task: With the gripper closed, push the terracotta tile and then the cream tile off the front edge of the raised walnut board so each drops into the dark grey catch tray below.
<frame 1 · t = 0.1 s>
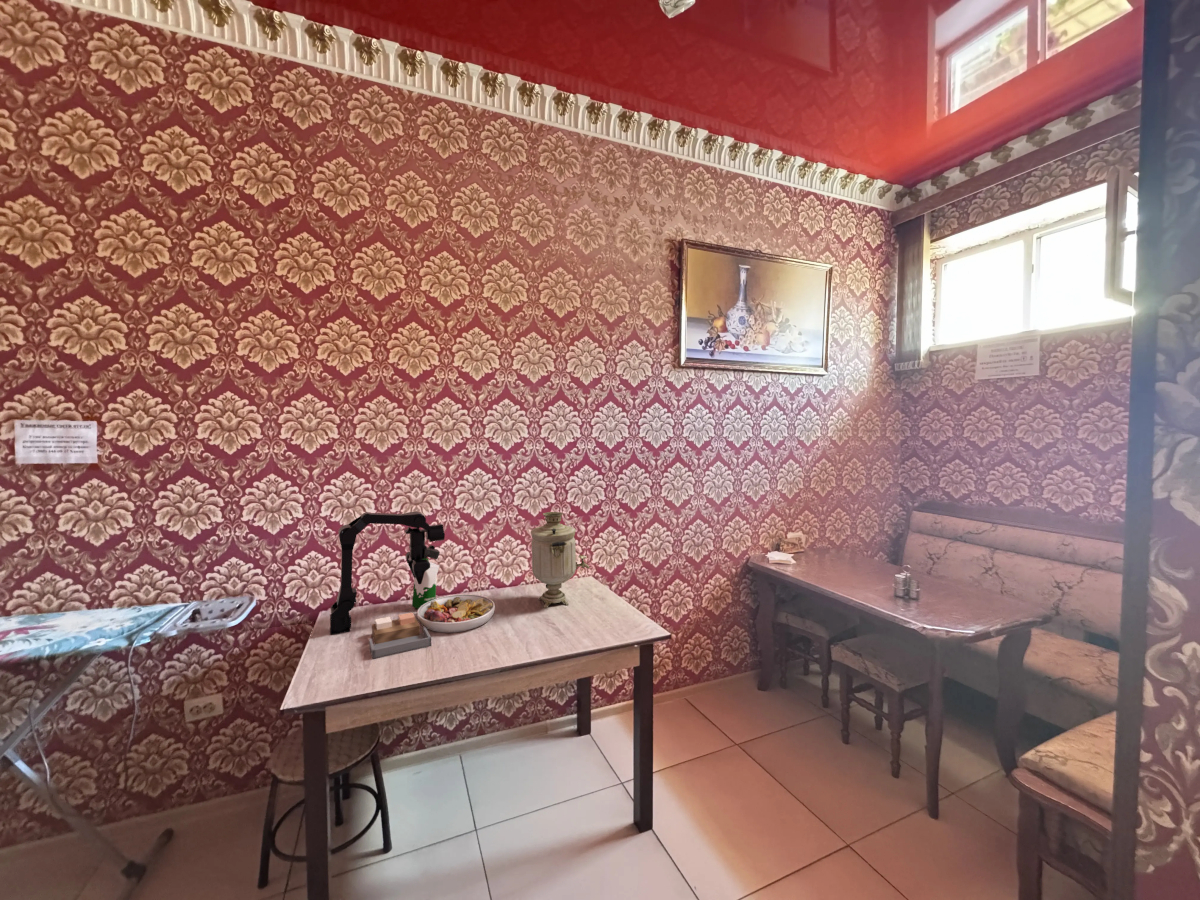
hand: (417, 580, 191), 15 cm above the table, fingers open, 9 cm apart
bowl: (456, 620, 190), on the table
terracotta tile: (406, 621, 177), point 4 cm above the table, touching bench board
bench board: (395, 635, 174), on the table
samovar: (559, 602, 209), on the table
milk carton: (423, 606, 201), on the table, touching gripper
catch tray: (400, 646, 165), on the table
cream tile: (383, 625, 173), point 4 cm above the table, touching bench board
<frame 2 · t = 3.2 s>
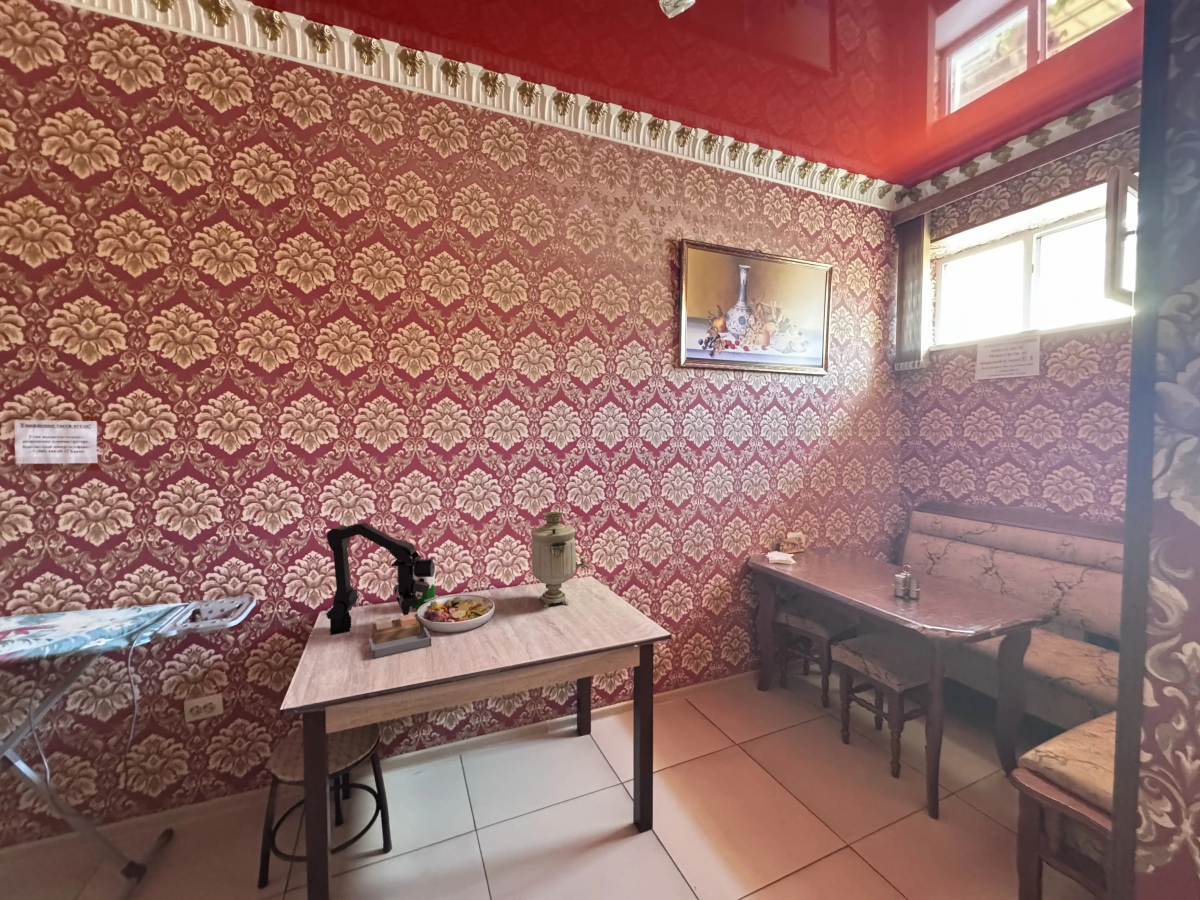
hand: (406, 616, 179), 5 cm above the table, fingers closed
terracotta tile: (407, 622, 176), point 4 cm above the table, touching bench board, gripper
milk carton: (423, 607, 201), on the table
everything else where it was.
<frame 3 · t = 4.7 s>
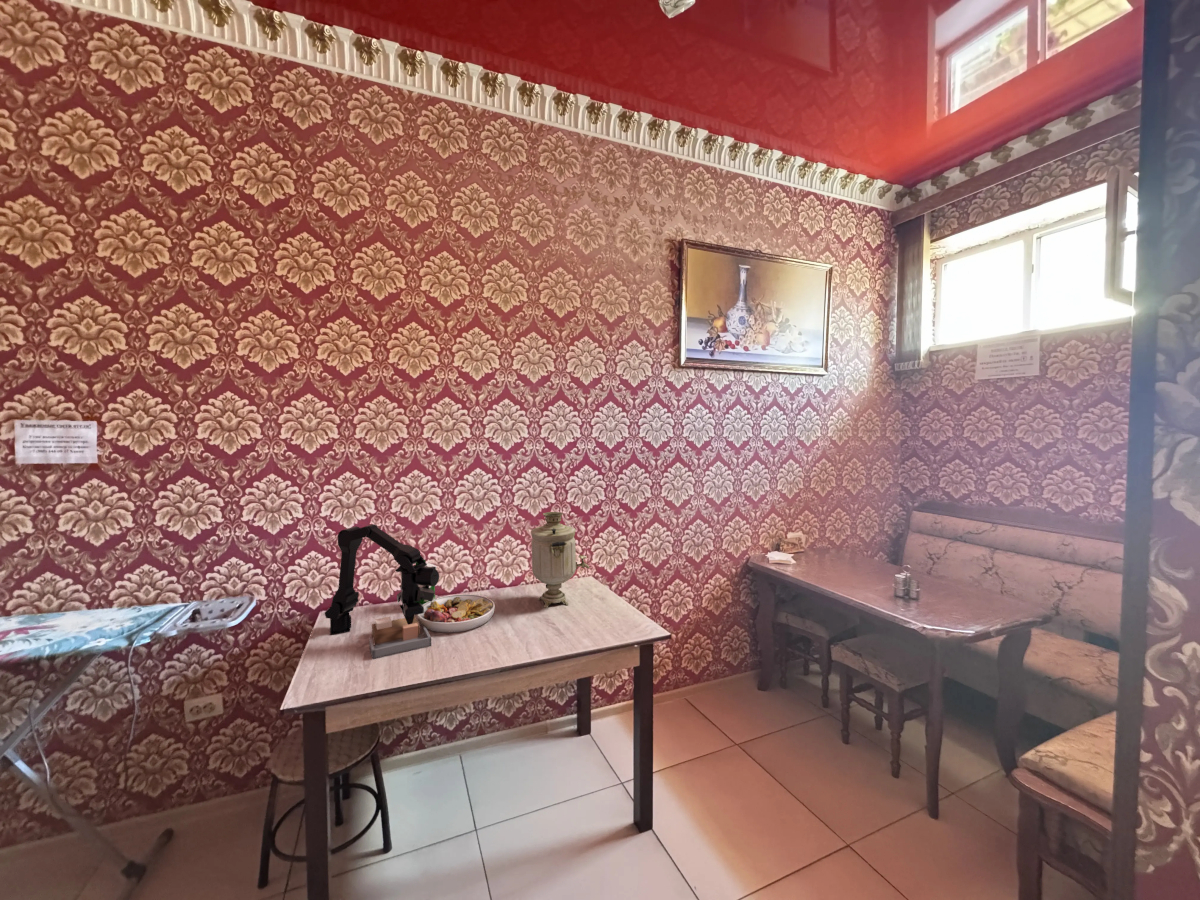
hand: (410, 625, 171), 5 cm above the table, fingers closed
terracotta tile: (409, 630, 171), point 3 cm above the table, tilted 100°, touching catch tray
everything else where it was.
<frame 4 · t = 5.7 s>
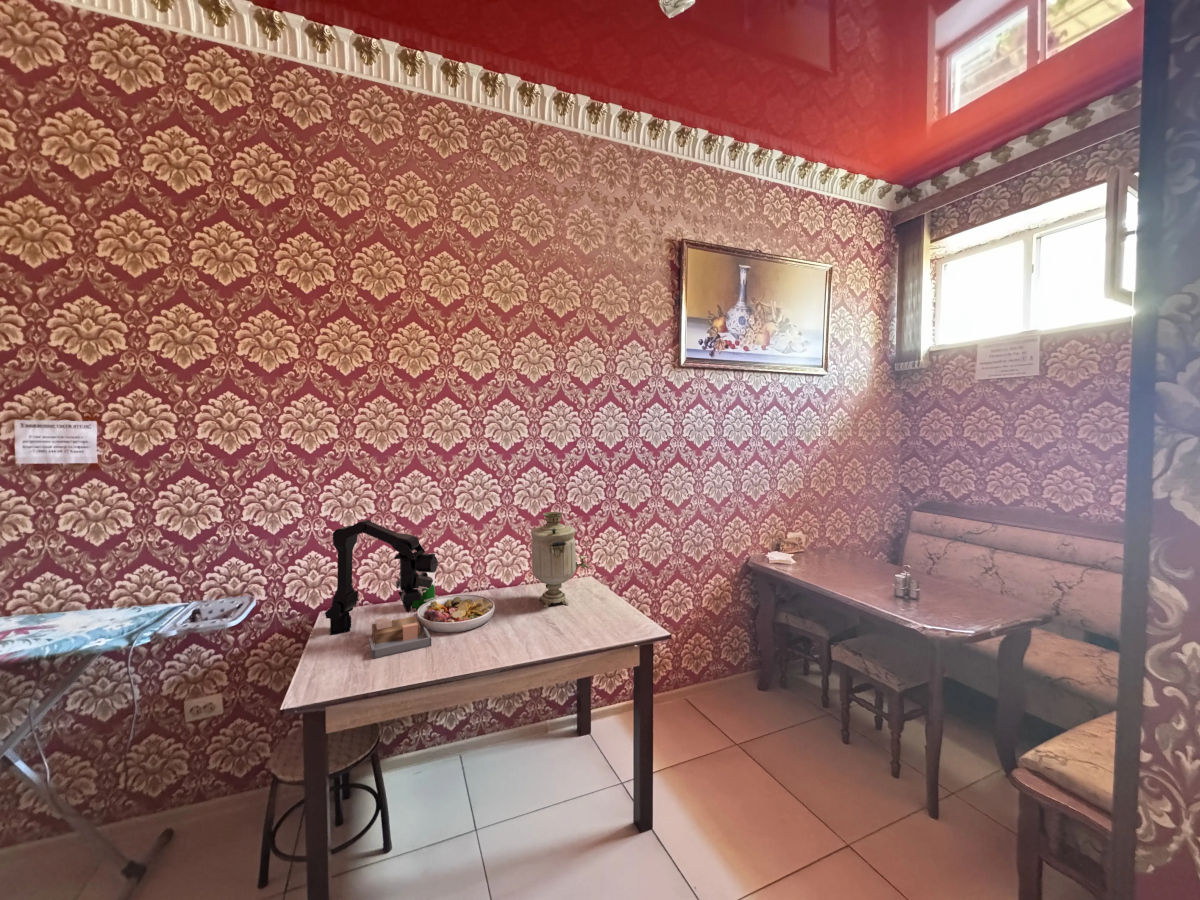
hand: (408, 612, 173), 9 cm above the table, fingers closed
terracotta tile: (409, 630, 171), point 3 cm above the table, tilted 90°, touching catch tray
everything else where it was.
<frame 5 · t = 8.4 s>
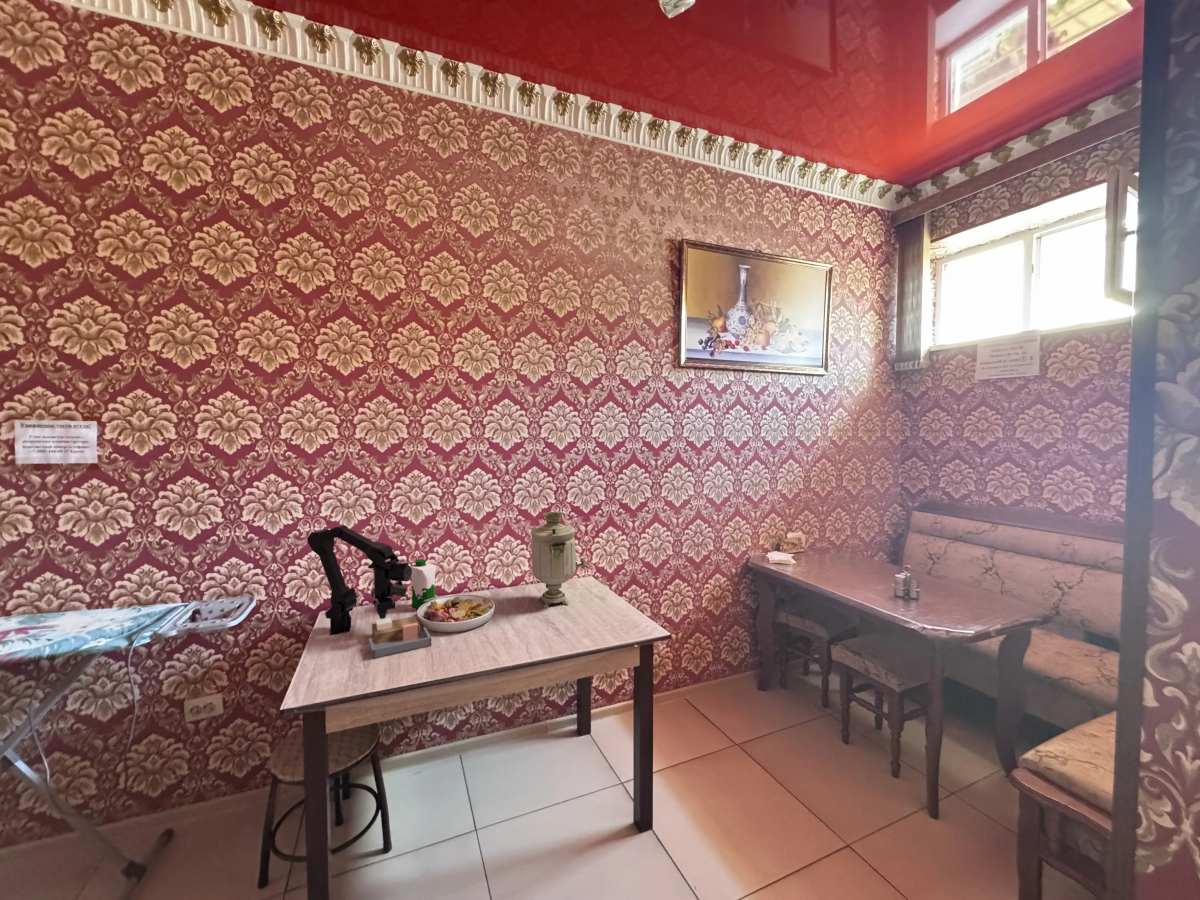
hand: (382, 620, 175), 5 cm above the table, fingers closed
cream tile: (383, 626, 172), point 4 cm above the table, touching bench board, gripper
everything else where it was.
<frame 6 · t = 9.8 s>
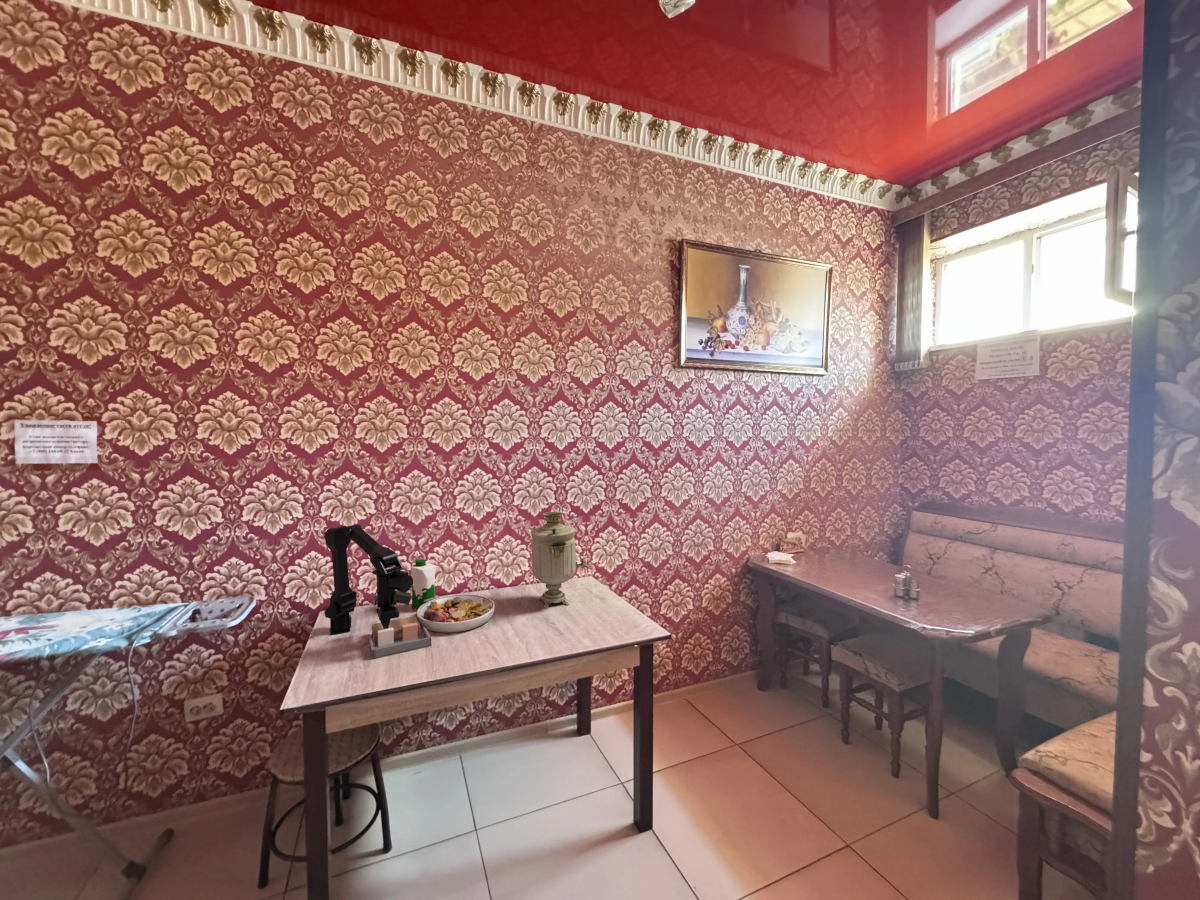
hand: (386, 629, 167), 5 cm above the table, fingers closed
cream tile: (385, 635, 167), point 3 cm above the table, tilted 91°, touching catch tray, gripper
everything else where it was.
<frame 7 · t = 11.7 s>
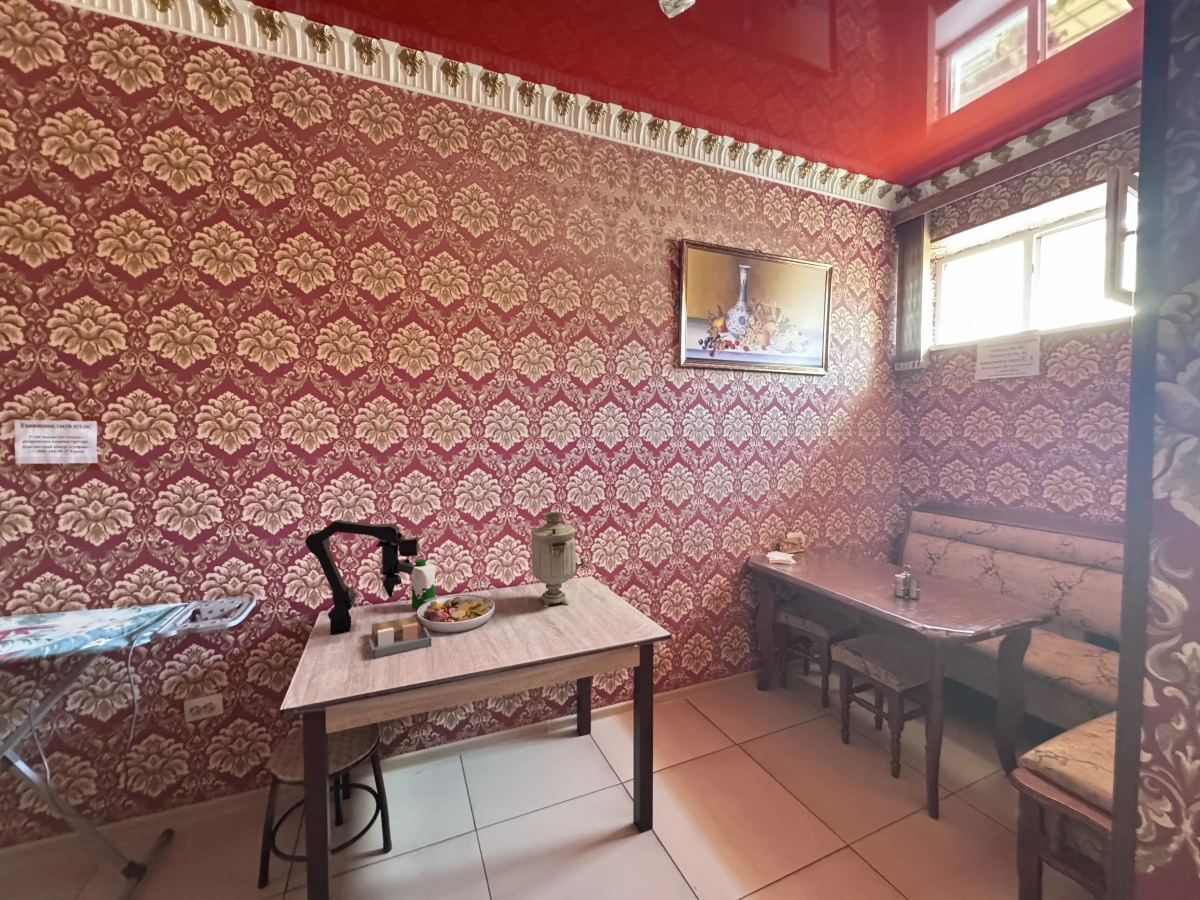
hand: (390, 596, 181), 12 cm above the table, fingers closed
cream tile: (385, 635, 167), point 3 cm above the table, tilted 90°, touching catch tray
everything else where it was.
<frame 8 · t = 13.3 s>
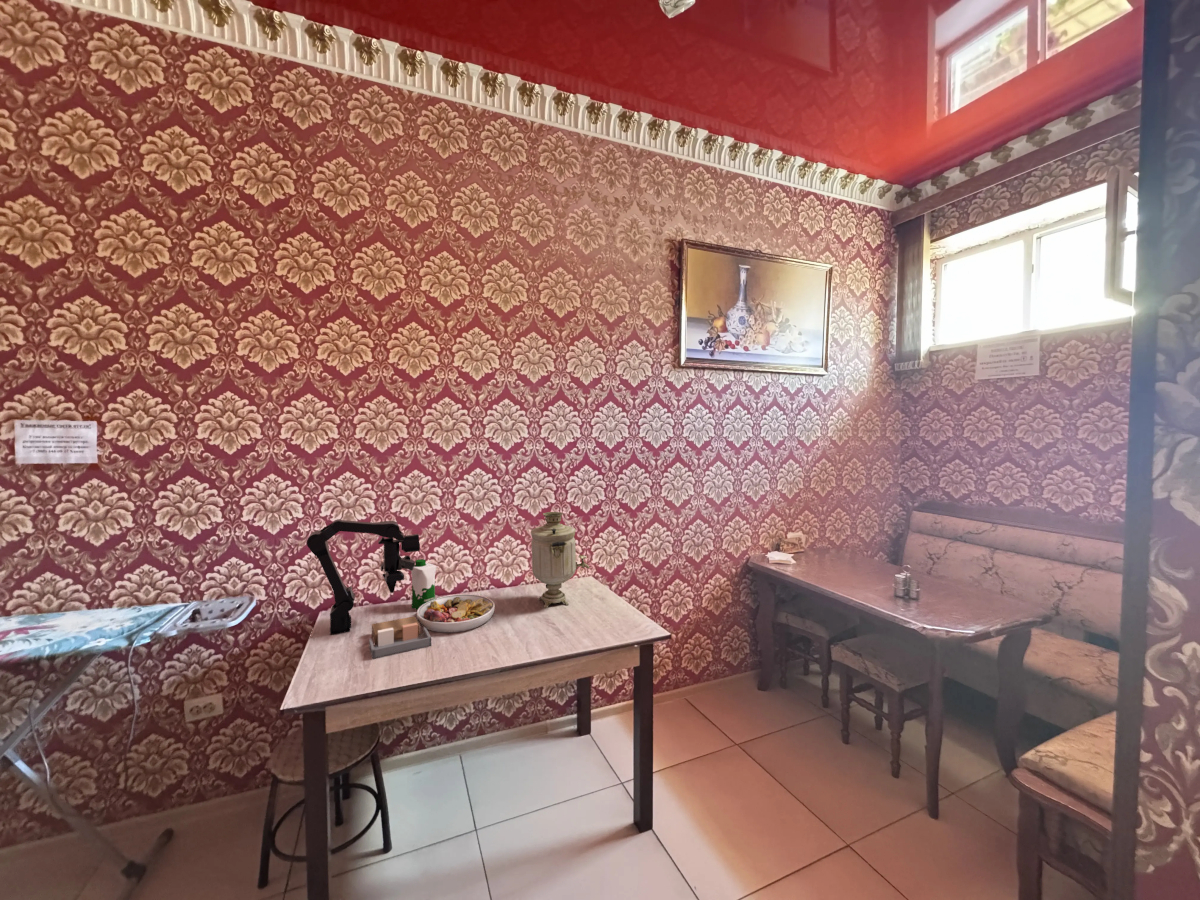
hand: (392, 592, 184), 12 cm above the table, fingers closed
nothing on the table moved.
at the end: terracotta tile inside the target area (6.2 cm from its centre), point 3.0 cm above the table; cream tile inside the target area (6.3 cm from its centre), point 3.0 cm above the table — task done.
